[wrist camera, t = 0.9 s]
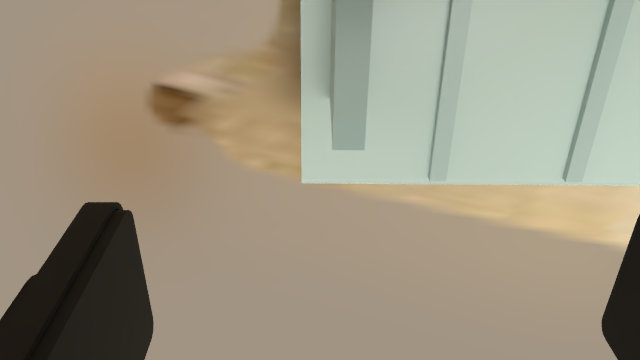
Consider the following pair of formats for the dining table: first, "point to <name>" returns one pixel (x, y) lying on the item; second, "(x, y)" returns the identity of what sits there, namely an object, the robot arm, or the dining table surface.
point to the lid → (470, 92)
